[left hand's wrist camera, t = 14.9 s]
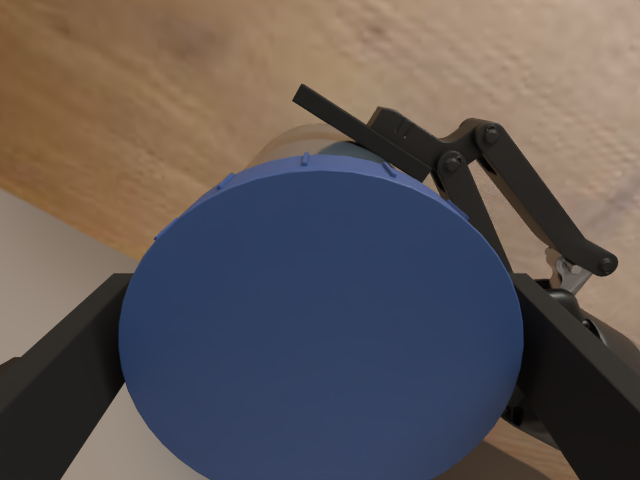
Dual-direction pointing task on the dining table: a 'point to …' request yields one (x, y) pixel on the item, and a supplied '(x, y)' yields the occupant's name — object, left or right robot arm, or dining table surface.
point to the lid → (320, 327)
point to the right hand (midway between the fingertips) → (242, 193)
